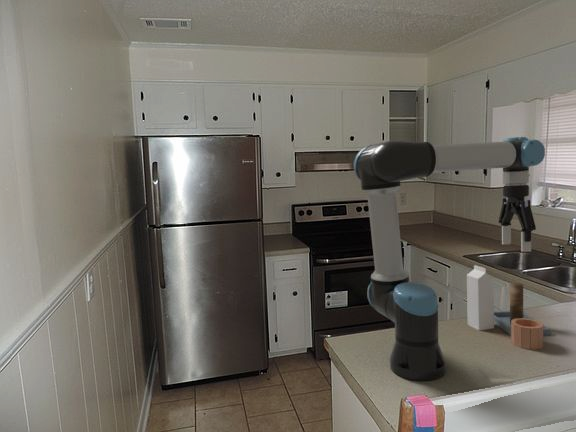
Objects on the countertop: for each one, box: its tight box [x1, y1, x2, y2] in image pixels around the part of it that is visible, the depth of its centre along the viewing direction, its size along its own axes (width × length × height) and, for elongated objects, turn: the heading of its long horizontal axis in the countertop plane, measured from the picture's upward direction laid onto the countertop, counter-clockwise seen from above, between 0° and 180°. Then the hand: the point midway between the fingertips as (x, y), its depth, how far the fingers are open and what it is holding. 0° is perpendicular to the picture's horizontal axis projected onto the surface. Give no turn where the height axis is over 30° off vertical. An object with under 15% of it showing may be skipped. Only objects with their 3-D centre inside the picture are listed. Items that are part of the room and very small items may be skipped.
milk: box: [466, 264, 495, 331], centre depth 139 cm, size 6×6×22 cm
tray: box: [494, 310, 551, 337], centre depth 139 cm, size 12×18×3 cm, turn 176°
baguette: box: [509, 282, 524, 325], centre depth 138 cm, size 4×4×14 cm
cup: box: [510, 318, 544, 350], centre depth 124 cm, size 8×8×8 cm
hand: (515, 247), depth 136 cm, fingers open, 13 cm apart
